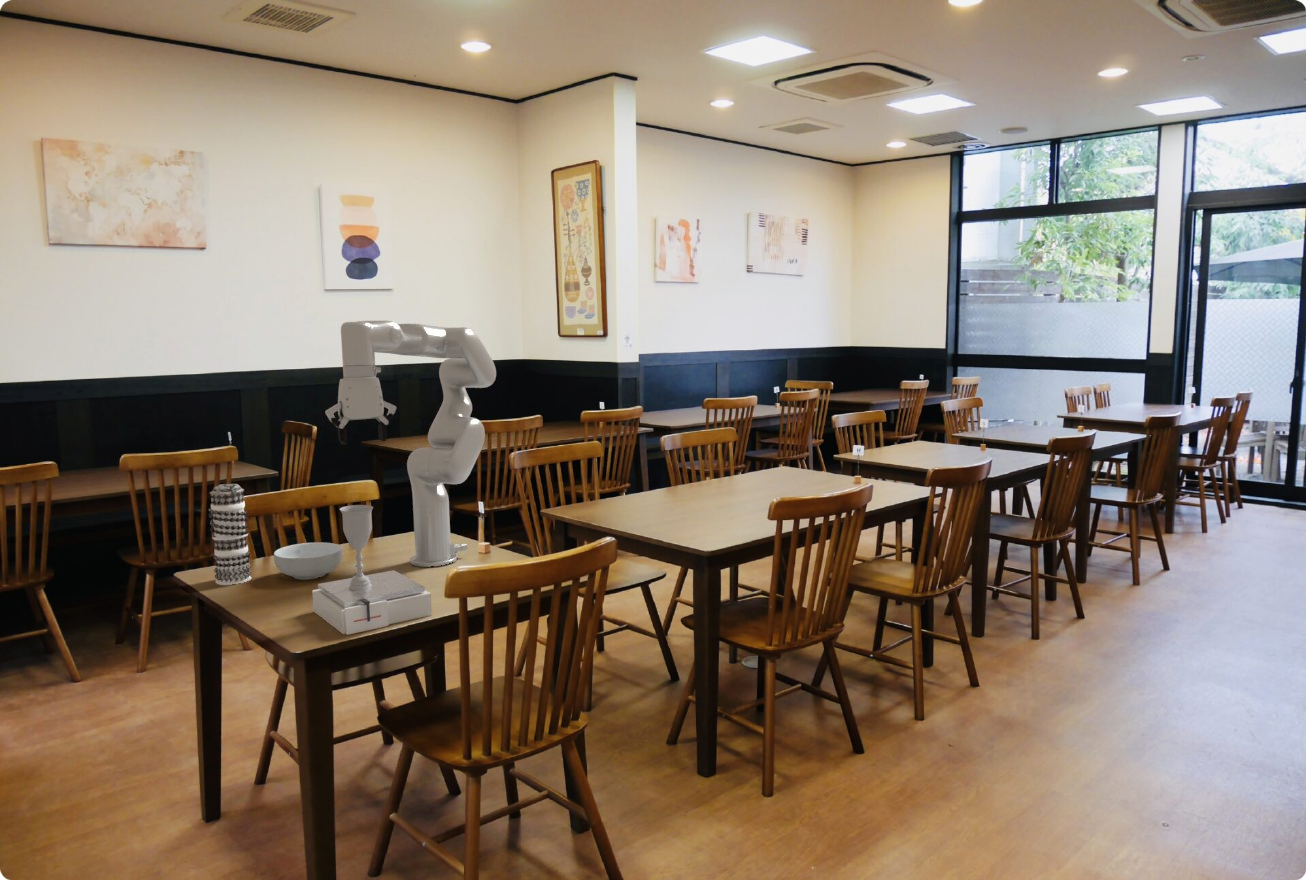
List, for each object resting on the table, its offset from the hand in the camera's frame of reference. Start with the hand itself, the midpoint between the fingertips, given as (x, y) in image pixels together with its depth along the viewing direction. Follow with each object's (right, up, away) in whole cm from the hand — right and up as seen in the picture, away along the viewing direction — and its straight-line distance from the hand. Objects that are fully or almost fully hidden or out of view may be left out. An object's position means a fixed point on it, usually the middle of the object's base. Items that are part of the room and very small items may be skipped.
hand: (363, 442), depth 228 cm
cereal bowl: (-19, -35, +15) cm, 43 cm away
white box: (+8, -38, -19) cm, 43 cm away
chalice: (+5, -33, -19) cm, 38 cm away
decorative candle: (-37, -36, +11) cm, 53 cm away
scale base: (+7, -39, -18) cm, 43 cm away
